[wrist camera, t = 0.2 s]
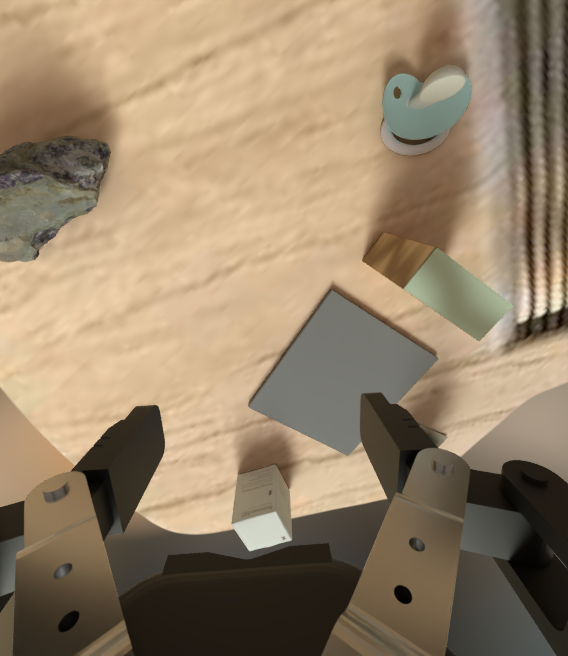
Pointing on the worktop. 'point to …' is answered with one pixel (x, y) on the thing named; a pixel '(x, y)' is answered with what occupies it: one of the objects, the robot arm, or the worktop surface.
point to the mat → (339, 373)
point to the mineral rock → (46, 191)
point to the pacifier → (424, 108)
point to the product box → (262, 508)
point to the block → (438, 283)
